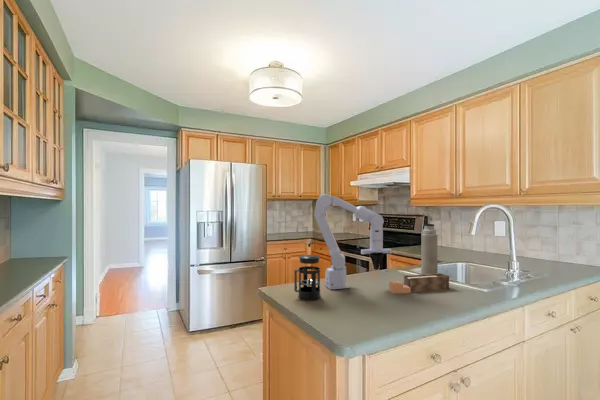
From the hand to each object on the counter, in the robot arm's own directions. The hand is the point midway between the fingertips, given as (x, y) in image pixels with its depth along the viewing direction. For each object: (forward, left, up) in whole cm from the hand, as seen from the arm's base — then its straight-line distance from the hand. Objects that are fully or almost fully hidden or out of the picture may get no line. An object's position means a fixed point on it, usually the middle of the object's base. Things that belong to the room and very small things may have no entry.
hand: (376, 269), depth 141 cm
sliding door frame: (+22, -7, -9) cm, 24 cm away
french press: (-34, -6, -9) cm, 36 cm away
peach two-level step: (+8, -8, -9) cm, 14 cm away
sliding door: (+20, -7, -8) cm, 22 cm away
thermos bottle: (+39, +14, -9) cm, 43 cm away
